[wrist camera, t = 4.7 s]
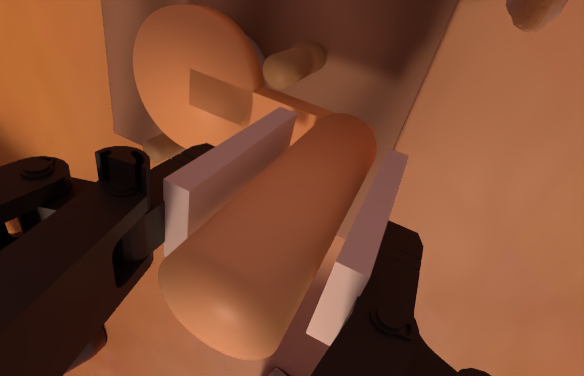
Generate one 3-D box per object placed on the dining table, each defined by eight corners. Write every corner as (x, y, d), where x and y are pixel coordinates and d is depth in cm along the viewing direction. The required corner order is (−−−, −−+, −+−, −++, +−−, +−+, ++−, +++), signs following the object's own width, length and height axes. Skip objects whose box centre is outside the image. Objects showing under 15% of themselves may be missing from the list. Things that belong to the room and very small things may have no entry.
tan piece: (152, 120, 20) (-74, 211, 12) (148, -13, 16) (-199, -23, 8) (355, 208, 17) (253, 417, 9) (412, 72, 13) (326, 212, 5)
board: (129, 126, 27) (62, 153, 23) (110, -135, 18) (-7, -179, 14) (357, 229, 23) (331, 287, 18) (480, -50, 14) (490, -73, 9)
